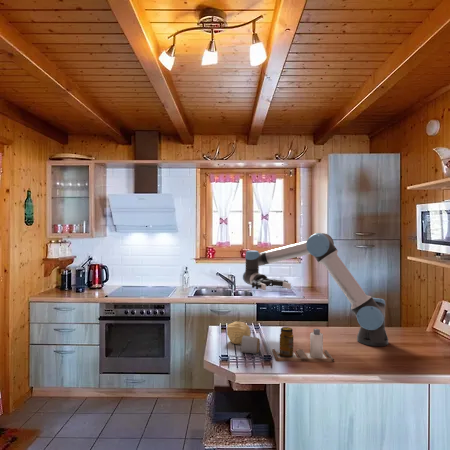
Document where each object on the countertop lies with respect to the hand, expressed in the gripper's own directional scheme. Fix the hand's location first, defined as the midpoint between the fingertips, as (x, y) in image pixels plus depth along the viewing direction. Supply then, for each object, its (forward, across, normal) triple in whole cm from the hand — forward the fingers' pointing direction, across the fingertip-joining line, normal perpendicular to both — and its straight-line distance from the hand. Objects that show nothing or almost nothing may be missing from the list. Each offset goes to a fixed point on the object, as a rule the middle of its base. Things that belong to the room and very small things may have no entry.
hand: (277, 286), depth 174 cm
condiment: (+14, +2, -29) cm, 32 cm away
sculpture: (-14, +14, -30) cm, 36 cm away
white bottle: (+18, -10, -29) cm, 35 cm away
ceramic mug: (0, +14, -30) cm, 33 cm away
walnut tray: (+16, -4, -30) cm, 34 cm away
